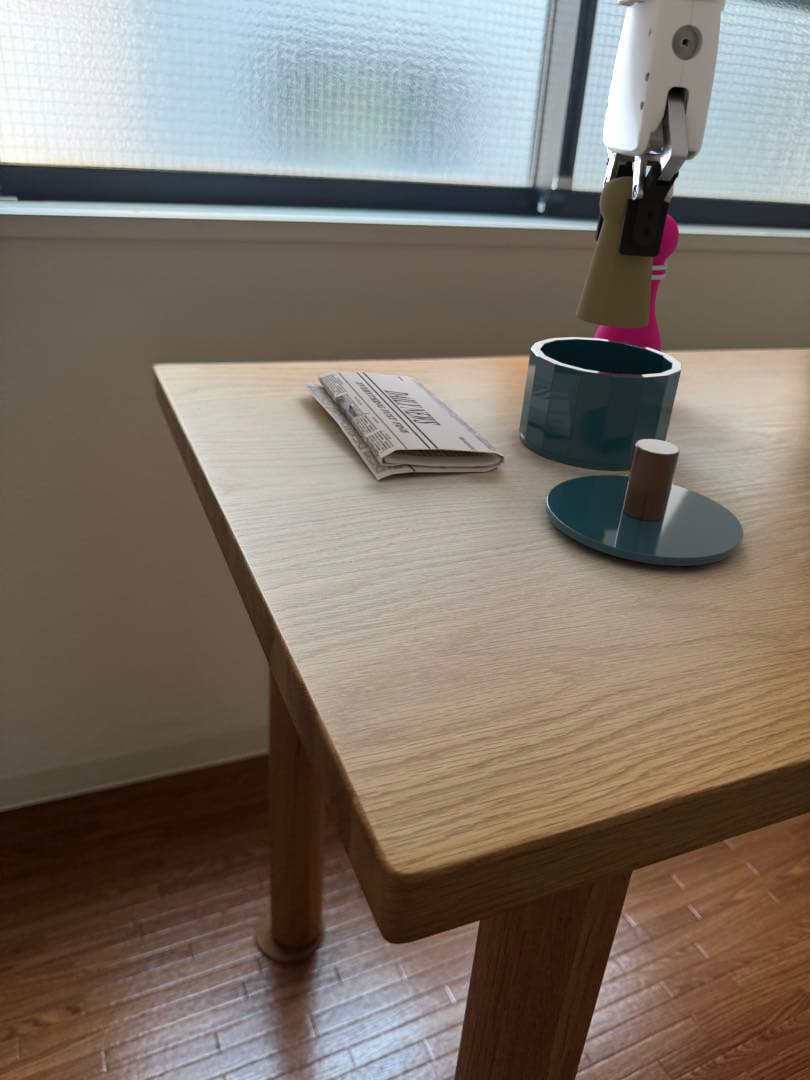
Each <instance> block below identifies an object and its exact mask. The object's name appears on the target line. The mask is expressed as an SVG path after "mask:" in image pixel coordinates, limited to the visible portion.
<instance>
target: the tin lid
mask: <svg viewBox="0 0 810 1080" xmlns="http://www.w3.org/2000/svg"><path fill="white" fill-rule="evenodd" d="M680 453H681V449H680V448H679V446H677V445H676V444H674V443H672V442H669V441H666V440H665V441H662V440H656V439H642V440H638V441H637V442H636V443H635V448H634V452H633V457H632V462H631V467H630V470H628V475H621V474H596V475H595V474H593V475H584V476H579V477H578V476H577V477H574V478H571V479H567V480H564V481H561V482H560V483H557V485H555V486H553V488H551V489H550V491H549V492H548V494H547V497H546V501H545V511H546V515H547V517H548V518H549V520H550V521H551V523H552V524H553V525H554V526H555V527H556V528H557V529H558V530H559V531H561V532H562V533H563V534H565V535H566V536H568V537H569V538H571V539H573V541H576V542H578V543H580V544H582V545H584V546H586V547H588V548H591V549H593V550H596V551H599V552H601V553H604V554H607V555H610V556H613V557H617V558H621V559H625V560H629V561H632V562H633V561H634V562H639V563H645V564H650V565H651V564H652V565H661V566H671V567H672V566H675V567H683V566H684V567H685V566H687V567H690V566H700V565H701V566H702V565H709V564H712V563H716V562H720V561H723V560H725V559H728V558H730V557H732V555H734V554H736V552H738V551H739V549H740V547H741V545H742V542H743V538H744V529H743V525H742V524H741V522H740V520H739V519H738V518H737V516H736V515H735V514H734V513H732V512H731V511H730V510H729V509H728V508H726V507H725V506H724V505H722V504H721V503H720V502H717V501H715V500H714V499H712V498H709V497H707V496H706V495H704V494H701V493H699V492H696V491H694V490H692V489H689V488H685V487H682V486H680V485H677V484H674V483H673V482H674V478H675V475H676V470H677V466H678V460H679V457H680Z"/></svg>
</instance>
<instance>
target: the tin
mask: <svg viewBox="0 0 810 1080" xmlns="http://www.w3.org/2000/svg"><path fill="white" fill-rule="evenodd" d="M682 366H683V363H681V362H680V361H678V360H677V359H676V358H674V357H673V356H672V355H670V354H667V353H665V352H662V351H661V352H660V351H657V350H654V349H652V348H648V347H644V346H639V345H635V344H631V343H626V342H620V341H613V340H606V339H599V338H594V337H582V336H581V337H580V336H568V337H551V338H547V339H543V340H540V341H536V342H535V343H534V344H532V346H531V348H530V352H529V358H528V366H527V373H526V380H525V387H524V394H523V401H522V408H521V415H520V422H519V430H518V431H519V439H520V441H521V442H522V444H523V445H525V447H527V448H528V449H529V450H531V451H532V452H534V453H536V454H538V455H540V456H542V457H544V458H547V459H549V460H553V461H556V462H559V463H561V464H565V465H570V466H574V467H578V468H584V469H592V470H600V471H630V467H631V462H632V457H633V452H634V448H635V443H636V442H637V441H638V440H642V439H656V440H662V441H666V440H667V436H668V431H669V428H670V427H669V426H670V422H671V418H672V413H673V409H674V405H675V400H676V396H677V391H678V387H679V382H680V378H681V374H682Z"/></svg>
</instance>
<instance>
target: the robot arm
mask: <svg viewBox="0 0 810 1080" xmlns="http://www.w3.org/2000/svg"><path fill="white" fill-rule="evenodd" d="M726 1H727V0H617V2H616V4H617V5H618V6H619V7H622V8H626V12H625V16H624V21H623V25H622V29H621V33H620V37H619V43H618V47H617V51H616V56H615V61H614V66H613V71H612V76H611V81H610V85H609V86H610V87H609V91H608V97H607V103H606V109H605V116H604V117H605V118H604V124H603V132H602V142H603V145H604V146H605V148H606V150H607V154H608V158H607V161H606V167H607V168H606V172H605V177H604V181H603V186H602V187H603V188H604V186H605V185H606V184H607V182H608V181H610V180H612V179H614V178H620V177H627V176H630V177H633V188H632V199H626V204H625V209H624V215H623V220H622V226H621V232H620V237H619V243H618V248H617V250H618V252H619V253H620V254H622V255H631V256H645V257H656V256H657V255H658V254H659V251H660V246H661V241H662V236H663V231H664V226H665V221H666V217H667V214H668V211H669V207H670V206H669V205H670V202H671V201H672V198H673V196H674V187H675V182H676V180H677V179H678V177H679V174H680V170H681V168H682V167H683V165H684V164H685V162H686V161H691V160H693V159H694V158H696V157H697V156H698V155H699V154H700V152H701V150H702V146H703V142H704V137H705V130H706V126H707V120H708V115H709V109H710V104H711V98H712V91H713V87H714V86H713V85H714V79H715V72H716V67H717V58H718V52H719V44H720V43H719V42H720V31H721V16H722V12H723V11H724V10H725V6H726ZM633 164H634V167H633ZM647 167H649V170H648V172H647ZM603 188H602V189H603ZM598 213H599V214H598V219H597V225H596V232H595V237H594V239H595V241H596V242H597V241H598V238H599V234H600V231H601V228H602V224H603V221H604V219H603V217H602V214H601V212H600V211H599V212H598Z"/></svg>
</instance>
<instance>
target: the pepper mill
mask: <svg viewBox="0 0 810 1080" xmlns="http://www.w3.org/2000/svg"><path fill="white" fill-rule="evenodd" d="M679 231H680V230H679V226H678V223H677V222H676V220H675V219H674V218H673V216H671V215H670V214H668V213H667V217H666V221H665V226H664V231H663V236H662V241H661V246H660V251H659V254H658V255H657V256H656V257H653V266H652V280H651V294H650V308H649V321H648V325H647V326H645V327H640V328H619V327H609V326H603V325H599V326H598V328H597V330H596V332H595V334H594V336H593V338H599V339H606V340H613V341H620V342H626V343H631V344H635V345H639V346H644V347H648V348H652V349H654V350H657V351H660V352H662V340H661V339H662V338H661V334H660V330H659V325H658V321H657V314H656V302H657V294H658V289H659V286H660V283H661V280H664V279H665V278H666V277H667V274H666V270H667V269H668V268H669V266H668V264H667V263H666V260H667V259H668V258H669V257H670V256H671V255H673V253H674V252H675V251H676V249H677V246H678V245H679V244H678V243H679V238H680V232H679Z"/></svg>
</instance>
